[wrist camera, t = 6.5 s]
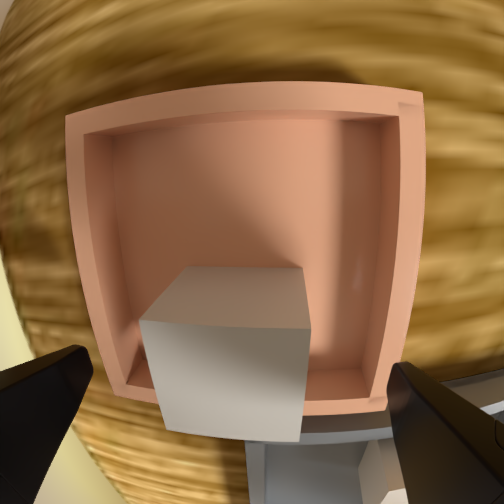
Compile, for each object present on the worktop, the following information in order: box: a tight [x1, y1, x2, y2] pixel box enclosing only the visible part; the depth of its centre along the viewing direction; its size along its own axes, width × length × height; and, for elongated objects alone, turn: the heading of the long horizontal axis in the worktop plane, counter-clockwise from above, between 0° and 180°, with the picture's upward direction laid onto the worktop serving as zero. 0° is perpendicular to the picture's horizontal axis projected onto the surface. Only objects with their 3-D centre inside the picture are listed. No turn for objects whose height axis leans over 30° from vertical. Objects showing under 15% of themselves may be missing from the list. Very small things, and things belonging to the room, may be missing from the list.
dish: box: [65, 81, 426, 416], centre depth 10 cm, size 11×11×2 cm
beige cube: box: [358, 438, 408, 504], centre depth 10 cm, size 4×4×4 cm
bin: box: [245, 368, 504, 504], centre depth 13 cm, size 16×14×2 cm
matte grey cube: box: [139, 266, 311, 442], centre depth 9 cm, size 4×4×4 cm
